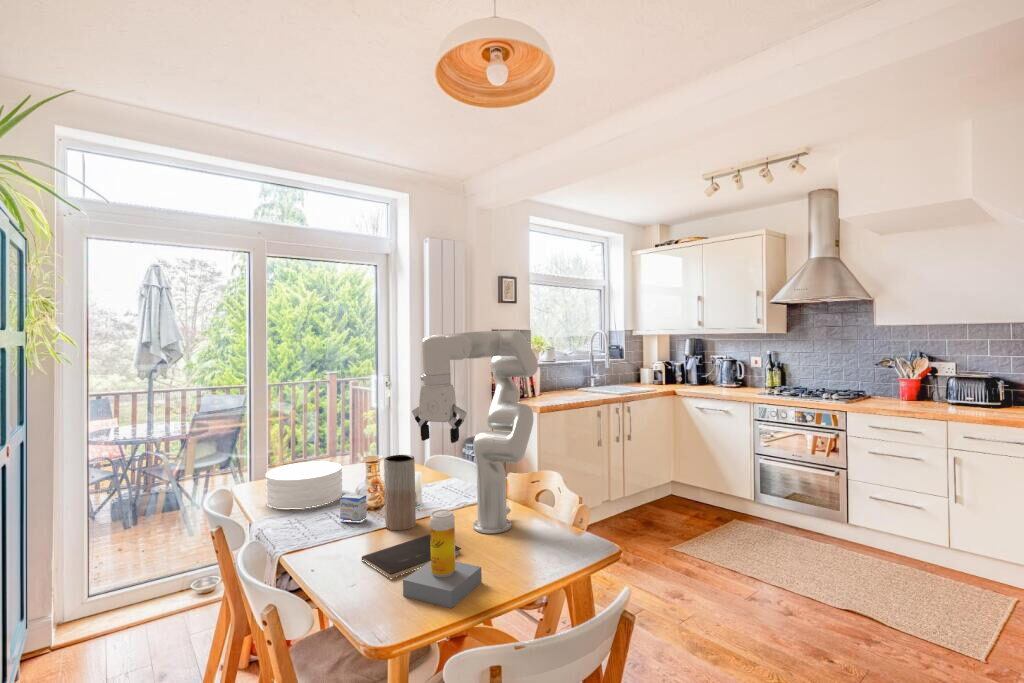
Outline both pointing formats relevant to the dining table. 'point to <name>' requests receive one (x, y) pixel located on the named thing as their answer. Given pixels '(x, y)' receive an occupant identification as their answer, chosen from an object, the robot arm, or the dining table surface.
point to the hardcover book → (402, 557)
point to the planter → (399, 492)
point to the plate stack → (304, 484)
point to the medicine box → (353, 507)
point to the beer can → (442, 543)
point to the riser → (442, 584)
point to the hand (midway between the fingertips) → (439, 440)
